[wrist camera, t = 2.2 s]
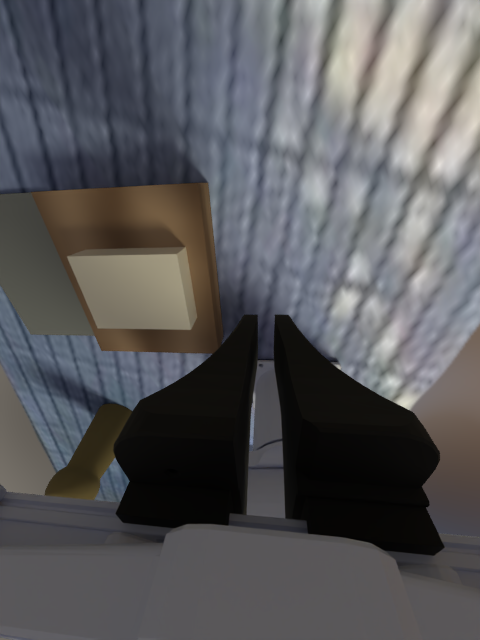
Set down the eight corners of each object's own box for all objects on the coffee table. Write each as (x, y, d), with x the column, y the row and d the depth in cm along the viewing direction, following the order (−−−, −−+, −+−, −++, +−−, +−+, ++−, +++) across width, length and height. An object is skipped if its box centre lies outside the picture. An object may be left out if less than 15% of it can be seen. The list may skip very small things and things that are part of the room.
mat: (57, 191, 19) (53, 191, 18) (113, 333, 26) (111, 335, 25) (-48, 197, 20) (-54, 197, 19) (33, 332, 27) (30, 334, 26)
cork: (118, 399, 32) (56, 490, 22) (146, 424, 34) (101, 516, 25) (89, 409, 34) (21, 497, 24) (118, 433, 36) (66, 521, 27)
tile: (185, 246, 17) (176, 254, 15) (197, 317, 20) (190, 329, 18) (85, 249, 18) (66, 256, 16) (111, 316, 21) (97, 328, 19)
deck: (208, 182, 17) (198, 182, 15) (223, 335, 24) (218, 353, 22) (63, 190, 19) (30, 192, 16) (118, 333, 26) (101, 350, 23)
